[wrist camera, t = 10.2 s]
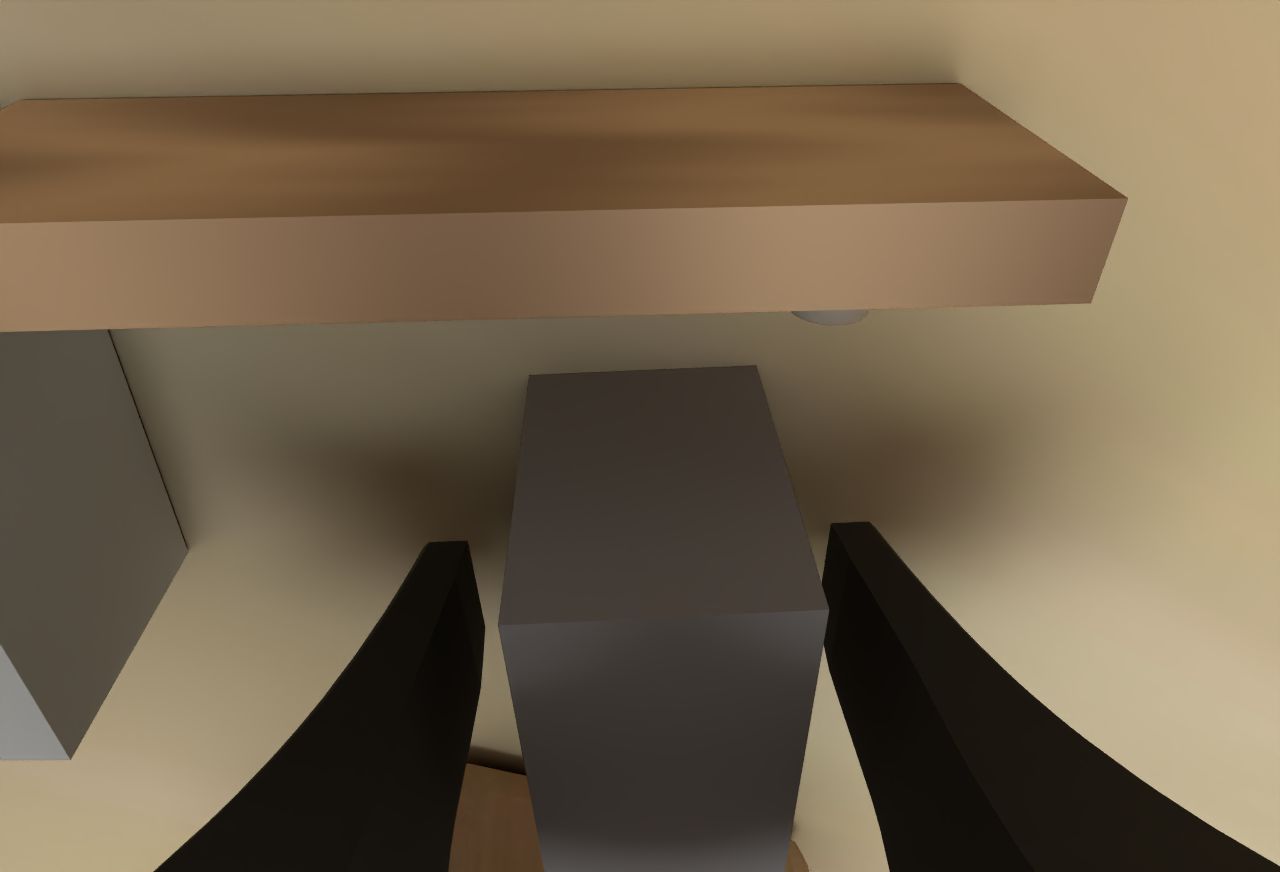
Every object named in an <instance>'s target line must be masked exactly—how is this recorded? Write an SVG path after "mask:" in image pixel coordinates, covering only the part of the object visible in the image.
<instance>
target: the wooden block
mask: <svg viewBox="0 0 1280 872" xmlns="http://www.w3.org/2000/svg"><path fill="white" fill-rule="evenodd" d="M449 872H545V871H544V866H543V860H542V855H541V850H540V845H539V839H538V834H537V829H536V823H535V818H534V813H533V808H532V802H531V797H530V792H529V786H528V781H527V776H524V775H520V774H515V773H510V772H506V771H501V770H497V769H492V768H488V767H483V766H478V765H474V764H466V768H465V773H464V778H463V783H462V788H461V794H460V799H459V804H458V809H457V814H456V819H455V825H454V832H453V838H452V845H451V851H450V861H449ZM785 872H809V870H808V865H807V863H806V861H805V859H804V857H803V856H802V854H801V852H800V850H799V848H798V846H797V845H796V843H795V842H794V841H792V840H791V839H790V843H789V849H788V855H787V861H786V867H785Z"/></svg>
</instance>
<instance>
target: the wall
mask: <svg viewBox="0 0 1280 872" xmlns="http://www.w3.org/2000/svg"><path fill="white" fill-rule="evenodd" d="M187 553H188V550H187V548H186V545H185V542H184V539H183V536H182V534H181V531H180V528H179V525H178V523H177V520H176V517H175V514H174V512H173V509H172V506H171V503H170V501H169V498H168V495H167V492H166V490H165V487H164V484H163V481H162V479H161V476H160V473H159V470H158V468H157V465H156V462H155V459H154V456H153V454H152V451H151V448H150V445H149V443H148V440H147V437H146V434H145V432H144V429H143V426H142V423H141V421H140V418H139V415H138V412H137V410H136V407H135V404H134V401H133V399H132V396H131V393H130V390H129V388H128V385H127V382H126V379H125V377H124V374H123V371H122V368H121V365H120V363H119V360H118V357H117V354H116V352H115V349H114V346H113V343H112V341H111V338H110V335H109V332H108V330H107V329H95V330H57V331H19V332H0V760H71V758H72V757H73V755H74V753H75V751H76V750H77V748H78V746H79V744H80V743H81V741H82V739H83V737H84V735H85V734H86V732H87V730H88V728H89V727H90V725H91V723H92V721H93V720H94V718H95V716H96V714H97V712H98V711H99V709H100V707H101V705H102V704H103V702H104V700H105V698H106V697H107V695H108V693H109V691H110V690H111V688H112V686H113V684H114V682H115V681H116V679H117V677H118V675H119V674H120V672H121V670H122V668H123V667H124V665H125V663H126V661H127V659H128V658H129V656H130V654H131V652H132V651H133V649H134V647H135V645H136V644H137V642H138V640H139V638H140V636H141V635H142V633H143V631H144V629H145V628H146V626H147V624H148V622H149V621H150V619H151V617H152V615H153V614H154V612H155V610H156V608H157V606H158V605H159V603H160V601H161V599H162V598H163V596H164V594H165V592H166V591H167V589H168V587H169V585H170V583H171V582H172V580H173V578H174V576H175V575H176V573H177V571H178V569H179V568H180V566H181V564H182V562H183V560H184V559H185V557H186V555H187Z"/></svg>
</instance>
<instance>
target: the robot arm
mask: <svg viewBox="0 0 1280 872" xmlns="http://www.w3.org/2000/svg"><path fill="white" fill-rule="evenodd" d="M822 587H823V590H824V594H825V597H826V600H827V604H828V607H829V614H828V620H827V626H826V632H825V638H824V648H825V653H826V657H827V662H828V667H829V671H830V674H831V677H832V680H833V684H834V687H835V690H836V693H837V696H838V699H839V702H840V705H841V708H842V711H843V714H844V717H845V720H846V723H847V726H848V729H849V732H850V735H851V738H852V741H853V744H854V747H855V750H856V753H857V757H858V760H859V763H860V766H861V769H862V772H863V775H864V778H865V781H866V784H867V787H868V790H869V793H870V796H871V799H872V802H873V806H874V809H875V813H876V816H877V820H878V823H879V827H880V831H881V835H882V839H883V844H884V848H885V852H886V857H887V861H888V866H889V870H890V872H1280V866H1278V865H1277V864H1275V863H1273V862H1272V861H1270V860H1268V859H1266V858H1265V857H1263V856H1261V855H1260V854H1258V853H1256V852H1254V851H1253V850H1251V849H1249V848H1248V847H1246V846H1244V845H1243V844H1241V843H1239V842H1237V841H1236V840H1234V839H1232V838H1231V837H1229V836H1227V835H1225V834H1224V833H1222V832H1220V831H1219V830H1217V829H1215V828H1214V827H1212V826H1211V825H1209V824H1207V823H1206V822H1204V821H1203V820H1201V819H1200V818H1198V817H1197V816H1195V815H1193V814H1192V813H1190V812H1189V811H1187V810H1186V809H1184V808H1183V807H1181V806H1180V805H1178V804H1177V803H1175V802H1174V801H1172V800H1170V799H1169V798H1167V797H1166V796H1164V795H1163V794H1161V793H1160V792H1158V791H1157V790H1155V789H1154V788H1153V787H1151V786H1150V785H1148V784H1147V783H1145V782H1144V781H1142V780H1141V779H1140V778H1138V777H1137V776H1135V775H1134V774H1133V773H1131V772H1130V771H1129V770H1127V769H1126V768H1124V767H1123V766H1122V765H1120V764H1119V763H1118V762H1116V761H1115V760H1114V759H1112V758H1111V757H1109V756H1108V755H1107V754H1105V753H1104V752H1103V751H1101V750H1100V749H1099V748H1097V747H1096V746H1094V745H1093V744H1092V743H1090V742H1089V741H1088V740H1086V739H1085V738H1084V737H1082V736H1081V735H1080V734H1079V733H1077V732H1076V731H1075V730H1074V729H1072V728H1071V727H1070V726H1069V725H1067V724H1066V723H1065V722H1064V721H1062V720H1061V719H1060V718H1059V717H1057V716H1056V715H1055V714H1054V713H1053V712H1052V711H1050V710H1049V709H1048V708H1047V707H1046V706H1045V705H1043V704H1042V703H1041V702H1040V701H1039V700H1038V699H1036V698H1035V697H1034V696H1033V695H1032V694H1031V693H1029V692H1028V691H1027V690H1026V689H1025V688H1024V687H1023V686H1022V685H1021V684H1019V683H1018V682H1017V681H1016V680H1015V679H1014V678H1013V677H1012V676H1011V675H1010V674H1009V673H1008V672H1006V671H1005V670H1004V669H1003V668H1002V667H1001V666H1000V665H999V664H998V663H997V662H996V661H995V660H994V659H993V658H992V657H991V656H990V655H989V654H988V653H987V652H986V651H985V650H984V649H983V648H982V647H981V646H980V645H979V644H978V643H977V642H976V641H975V640H974V639H973V638H972V637H971V636H970V635H969V634H968V633H967V632H966V631H965V630H964V629H963V628H962V627H961V626H960V625H959V624H958V622H957V621H956V620H955V619H954V618H953V617H952V616H951V615H950V614H949V613H948V612H947V611H946V610H945V608H944V607H943V606H942V605H941V604H940V603H939V602H938V601H937V600H936V599H935V598H934V596H933V595H932V594H931V593H930V592H929V591H928V590H927V589H926V587H925V586H924V585H923V584H922V583H921V582H920V581H919V579H918V578H917V577H916V576H915V575H914V574H913V572H912V571H911V570H910V569H909V568H908V567H907V565H906V564H905V563H904V562H903V561H902V559H901V558H900V557H899V556H898V555H897V553H896V552H895V551H894V550H893V549H892V547H891V546H890V545H889V544H888V543H887V541H886V540H885V539H884V538H883V536H882V535H881V534H880V533H879V532H878V530H877V529H876V528H875V527H874V526H873V525H872V524H871V523H870V522H850V523H831V527H830V533H829V540H828V546H827V552H826V559H825V565H824V571H823V578H822ZM484 639H485V623H484V619H483V614H482V609H481V604H480V599H479V594H478V589H477V584H476V579H475V574H474V569H473V564H472V559H471V555H470V550H469V545H468V541H446V542H429V543H428V544H427V545H426V546H425V547H424V548H423V549H422V551H421V553H420V554H419V556H418V558H417V560H416V562H415V563H414V565H413V567H412V568H411V570H410V572H409V574H408V575H407V577H406V579H405V580H404V582H403V584H402V585H401V587H400V588H399V590H398V592H397V593H396V595H395V596H394V598H393V600H392V601H391V603H390V604H389V606H388V607H387V609H386V611H385V612H384V614H383V615H382V617H381V618H380V620H379V621H378V623H377V624H376V625H375V627H374V628H373V630H372V631H371V633H370V634H369V636H368V637H367V639H366V640H365V642H364V643H363V645H362V646H361V648H360V649H359V650H358V652H357V653H356V655H355V656H354V657H353V659H352V660H351V661H350V663H349V664H348V665H347V667H346V668H345V669H344V671H343V672H342V673H341V675H340V676H339V677H338V679H337V680H336V681H335V683H334V684H333V685H332V687H331V688H330V689H329V691H328V692H327V693H326V694H325V696H324V697H323V698H322V700H321V701H320V702H319V703H318V705H317V706H316V707H315V708H314V710H313V711H312V712H311V713H310V714H309V716H308V717H307V718H306V719H305V720H304V722H303V723H302V724H301V725H300V726H299V728H298V729H297V730H296V731H295V732H294V733H293V734H292V736H291V737H290V738H289V739H288V740H287V741H286V742H285V744H284V745H283V746H282V747H281V748H280V749H279V750H278V751H277V753H276V754H275V755H274V756H273V757H272V758H271V759H270V760H269V761H268V762H267V763H266V764H265V765H264V766H263V768H262V769H261V770H260V771H259V772H258V773H257V774H256V775H255V776H254V777H253V778H252V779H251V780H250V781H249V782H248V783H247V784H246V785H245V786H244V787H243V788H242V789H241V790H240V792H239V793H238V794H237V795H236V796H235V797H234V798H233V799H232V800H231V801H230V802H229V803H228V804H227V805H225V806H224V807H223V808H222V809H221V810H220V811H219V812H218V813H217V814H216V815H215V816H214V817H213V818H212V819H211V820H210V821H209V822H208V823H207V824H206V825H204V826H203V827H202V828H201V829H200V830H199V831H198V832H197V833H196V834H195V835H193V836H192V837H191V838H190V839H189V840H188V841H187V842H186V843H185V844H183V845H182V846H181V847H180V848H179V849H178V850H177V851H176V852H175V853H174V854H172V855H171V856H170V857H169V858H168V859H167V860H166V861H165V862H164V863H163V864H161V865H160V866H159V867H158V868H157V869H156V870H155V871H154V872H449V861H450V851H451V845H452V838H453V832H454V825H455V819H456V814H457V809H458V804H459V799H460V794H461V788H462V783H463V778H464V773H465V768H466V763H467V758H468V752H469V747H470V742H471V737H472V732H473V726H474V721H475V716H476V711H477V705H478V700H479V695H480V689H481V679H482V667H483V653H484Z"/></svg>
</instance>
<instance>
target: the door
mask: <svg viewBox="0 0 1280 872" xmlns="http://www.w3.org/2000/svg"><path fill="white" fill-rule="evenodd" d="M1127 200H1128V198H1127V197H1125V196H1124V195H1122V194H1121V193H1120V192H1118V191H1117V190H1115V189H1114V188H1112V187H1111V186H1109V185H1108V184H1106V183H1105V182H1104V181H1102V180H1101V179H1099V178H1098V177H1096V176H1095V175H1093V174H1092V173H1090V172H1089V171H1087V170H1086V169H1085V168H1083V167H1082V166H1080V165H1079V164H1077V163H1076V162H1074V161H1073V160H1071V159H1070V158H1068V157H1067V156H1066V155H1064V154H1063V153H1061V152H1060V151H1058V150H1057V149H1055V148H1054V147H1052V146H1051V145H1050V144H1048V143H1047V142H1045V141H1044V140H1042V139H1041V138H1039V137H1038V136H1036V135H1035V134H1033V133H1032V132H1031V131H1029V130H1028V129H1026V128H1025V127H1023V126H1022V125H1020V124H1019V123H1017V122H1016V121H1015V120H1013V119H1012V118H1010V117H1009V116H1007V115H1006V114H1004V113H1003V112H1001V111H1000V110H998V109H997V108H996V107H994V106H993V105H991V104H990V103H988V102H987V101H985V100H984V99H982V98H981V97H979V96H978V95H977V94H975V93H974V92H972V91H971V90H969V89H968V88H966V87H965V86H963V85H962V84H912V85H855V86H797V87H740V88H683V89H625V90H568V91H511V92H454V93H396V94H339V95H282V96H224V97H167V98H110V99H52V100H20V101H18V102H16V103H14V104H11V105H9V106H7V107H5V108H3V109H1V110H0V332H19V331H57V330H95V329H133V328H171V327H210V326H248V325H286V324H324V323H362V322H400V321H438V320H476V319H514V318H552V317H590V316H628V315H666V314H704V313H742V312H780V311H791V312H792V313H793V314H794V315H796V316H797V317H799V318H801V319H804V320H806V321H809V322H813V323H817V324H823V325H846V324H851V323H854V322H857V321H860V320H861V319H863V318H864V317H865V316H866V315H867V313H868V309H894V308H932V307H970V306H1008V305H1046V304H1084V303H1091V301H1092V298H1093V296H1094V293H1095V290H1096V287H1097V284H1098V282H1099V279H1100V276H1101V273H1102V270H1103V268H1104V265H1105V262H1106V259H1107V256H1108V254H1109V251H1110V248H1111V245H1112V242H1113V240H1114V237H1115V234H1116V231H1117V228H1118V226H1119V223H1120V220H1121V217H1122V214H1123V212H1124V209H1125V206H1126V203H1127Z"/></svg>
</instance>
